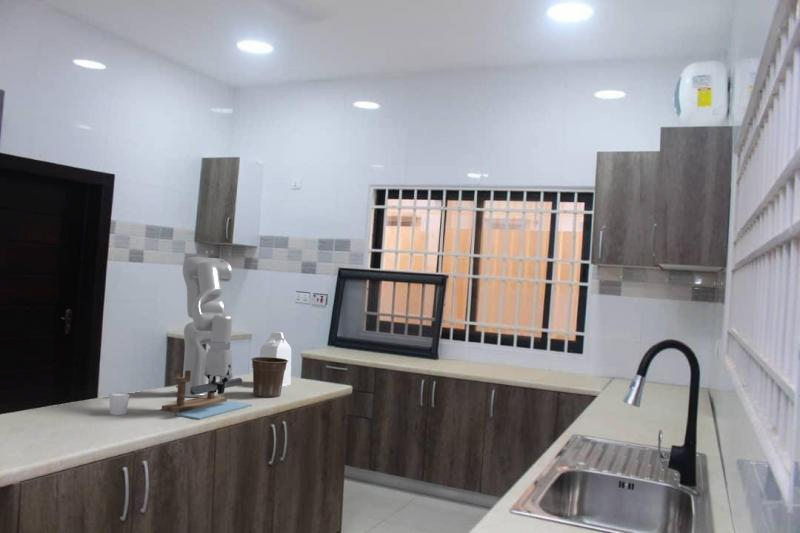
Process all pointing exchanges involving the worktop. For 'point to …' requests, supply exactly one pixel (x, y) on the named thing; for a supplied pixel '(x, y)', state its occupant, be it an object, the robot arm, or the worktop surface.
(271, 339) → the milk
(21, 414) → the worktop surface
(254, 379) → the plant pot
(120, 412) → the white cup
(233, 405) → the mat
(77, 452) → the worktop surface
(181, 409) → the rack
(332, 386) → the worktop surface
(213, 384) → the rod
